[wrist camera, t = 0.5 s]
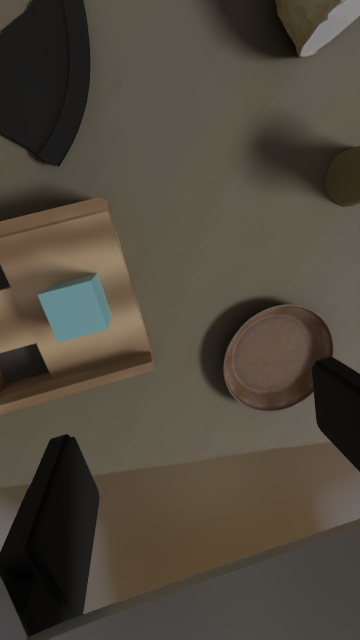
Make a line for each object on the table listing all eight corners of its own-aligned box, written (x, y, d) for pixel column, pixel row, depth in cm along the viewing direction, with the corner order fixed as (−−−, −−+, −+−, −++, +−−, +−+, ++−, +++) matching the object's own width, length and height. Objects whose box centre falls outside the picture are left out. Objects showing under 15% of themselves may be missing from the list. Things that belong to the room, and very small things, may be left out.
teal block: (52, 285, 27) (37, 294, 23) (97, 273, 28) (90, 280, 23) (69, 326, 29) (57, 343, 25) (111, 314, 29) (107, 329, 25)
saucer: (342, 325, 38) (357, 331, 35) (286, 413, 41) (296, 425, 38) (252, 280, 34) (261, 284, 31) (198, 381, 37) (203, 393, 34)
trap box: (-157, 268, 27) (-227, 277, 22) (107, 203, 29) (101, 196, 23) (-65, 410, 32) (-103, 445, 27) (151, 349, 34) (154, 369, 29)
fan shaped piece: (129, 34, 25) (128, 21, 24) (62, 173, 28) (57, 170, 26) (38, -43, 23) (32, -63, 21) (-26, 116, 25) (-37, 109, 24)
